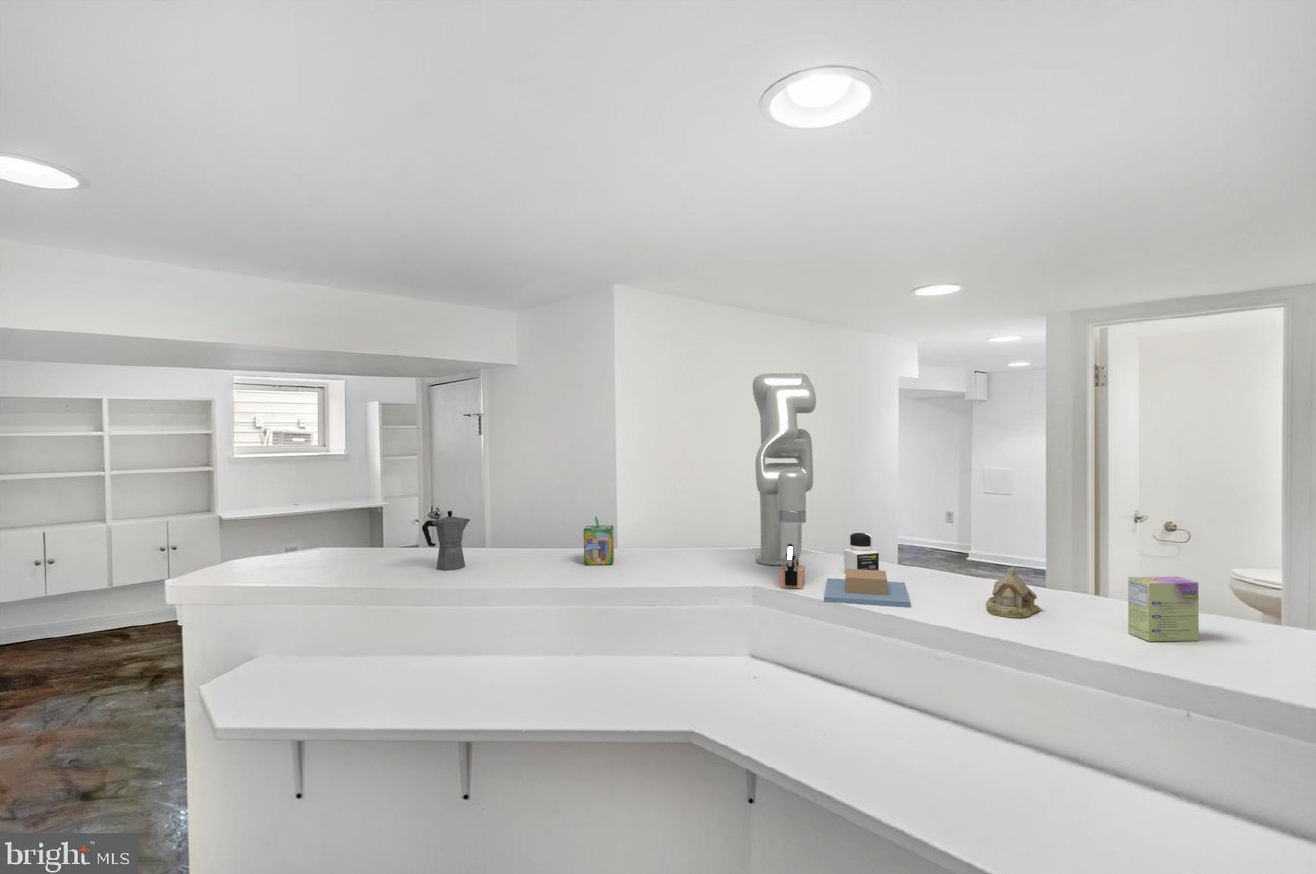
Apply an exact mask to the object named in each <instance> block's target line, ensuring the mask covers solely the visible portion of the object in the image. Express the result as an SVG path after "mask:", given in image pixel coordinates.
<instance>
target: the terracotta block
mask: <svg viewBox="0 0 1316 874" xmlns="http://www.w3.org/2000/svg"><path fill="white" fill-rule="evenodd" d="M780 566H781V567H780V568H779V588H780V589H781V588H782V589H796V588H801V589H800V590H803V589H804V587H805V582H806V581H805V573H806V572H805V565H801V564H799V565H796V571H797V586H787V585H785V568H786V564H782V565H780Z"/></svg>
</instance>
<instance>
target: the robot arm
mask: <svg viewBox="0 0 1316 874" xmlns="http://www.w3.org/2000/svg"><path fill="white" fill-rule="evenodd" d="M752 395H753V399H754V402H755V405H756V407H757V410H758V413H759V417H760V447H759V448H758V450H757V453H756V457H755V463H754V465H755V466H754V468H755V483H756V487H757V491H758V492H759V502H760V504H759V507H760V508H759V512H760V513H759V514H760V555H757V556H756V557H755V562H757V563H759V564H761V565H768V566H782V564H786V568H785V585H787V586H797V571H796V565H800V564H799V563H800V557H801V554H802V543H803V542H802V539H803V537H802V535H803V534H802V529H803V527H802V525H803V524H806V523H807V496H806V495H807V492H810V491H811V490H812V488H813V485H814V465H813V464H814V463H813V462H814V460H813V459H814V458H813V444H812V443H813V441H812V437H811V434H810V433H809V431H808V430H806V429H805V428H804V429H803V428H798V418H797V414H811V413H813V412H814V410H815V409H816V405H817V395H816V391H815V389H814V386H813V384H812V382H811V380H810V378H809V376H808V375H807V374H805V373H802V372H800V373H799V372H798V373H795V372H794V373H792V372H790V373H785V372H783V373H781V372H779V373H778V372H776V373H763V374H762V373H761V374H760V375H756V376H755V377H754V378H753V381H752ZM766 458H767V459H776V460H777V459H795V460H796V461H797V462H768V463H766Z"/></svg>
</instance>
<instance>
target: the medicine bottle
mask: <svg viewBox="0 0 1316 874" xmlns="http://www.w3.org/2000/svg"><path fill="white" fill-rule="evenodd" d="M849 541H850V544H849V546H850V548H844V549H843V564H844V565H843V566H844V568H843V569H844V570H843V572H844V574H846V569H860V570H880V568H879V565H880V562H879V559H880V557H879V556H880V553H879V551H877V550H873V536H872V535H871V534H869V533H867V532H866V533H865V532H854V533H852V534H850V535H849Z"/></svg>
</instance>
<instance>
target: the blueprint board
mask: <svg viewBox="0 0 1316 874" xmlns="http://www.w3.org/2000/svg"><path fill="white" fill-rule="evenodd" d="M844 574H845V577H844V578H832V577H831V578H827V579H826V586H825V591H824V596H823V602H825V603H837V602H846V603H845V604H852V603H856V604H855V605H870V606H883V607H884V606H886V607H898V608H899V607H900V608H911V600H910V596H909V593H908V590H907V585H906V582H902V581H901V582H899V581H888V577H887V573H886V570H880V569H879V570H860V569H846V573H844Z"/></svg>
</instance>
